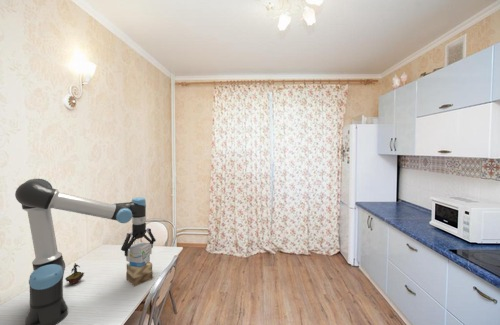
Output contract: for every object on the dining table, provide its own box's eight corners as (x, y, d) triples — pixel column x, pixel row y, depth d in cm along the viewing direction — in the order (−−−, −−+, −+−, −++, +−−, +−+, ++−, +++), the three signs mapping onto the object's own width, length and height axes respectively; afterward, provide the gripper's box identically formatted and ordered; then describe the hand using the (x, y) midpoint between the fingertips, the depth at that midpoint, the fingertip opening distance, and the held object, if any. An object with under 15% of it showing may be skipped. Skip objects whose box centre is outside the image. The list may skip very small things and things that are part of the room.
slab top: (133, 278, 137) (133, 270, 137) (126, 271, 144) (126, 263, 144) (152, 271, 145) (152, 263, 145) (144, 265, 152) (144, 258, 152)
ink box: (141, 267, 140) (141, 248, 139) (128, 265, 142) (128, 246, 141) (150, 261, 148) (150, 242, 148) (138, 259, 150) (138, 241, 149)
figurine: (75, 278, 144) (74, 259, 144) (87, 279, 144) (87, 259, 143) (61, 287, 135) (61, 267, 134) (74, 288, 134) (74, 267, 134)
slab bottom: (134, 286, 137) (134, 278, 137) (126, 280, 144) (126, 272, 144) (152, 279, 146) (152, 271, 145) (144, 273, 153) (144, 265, 152)
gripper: (120, 229, 131) (120, 266, 132) (161, 219, 151) (161, 252, 152) (114, 226, 136) (114, 262, 137) (155, 217, 155) (155, 249, 156)
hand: (139, 257), depth 144 cm, fingers open, 13 cm apart
